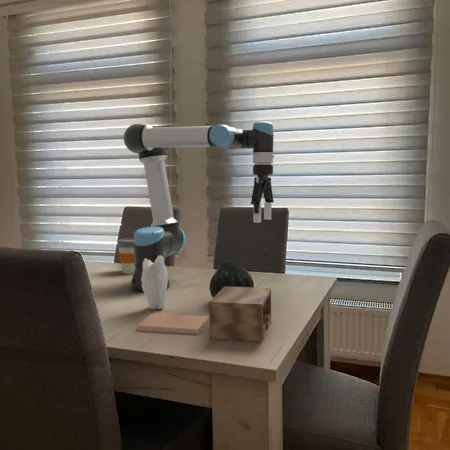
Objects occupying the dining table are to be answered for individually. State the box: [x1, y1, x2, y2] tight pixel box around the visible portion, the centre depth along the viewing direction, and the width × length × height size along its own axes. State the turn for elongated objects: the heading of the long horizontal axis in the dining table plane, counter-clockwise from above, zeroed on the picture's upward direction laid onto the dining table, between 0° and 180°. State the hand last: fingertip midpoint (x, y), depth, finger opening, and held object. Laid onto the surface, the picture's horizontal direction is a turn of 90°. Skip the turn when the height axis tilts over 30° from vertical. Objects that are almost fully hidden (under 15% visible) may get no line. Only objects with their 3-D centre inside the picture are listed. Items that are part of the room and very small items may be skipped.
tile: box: [136, 312, 210, 335], centre depth 135 cm, size 18×12×2 cm, turn 77°
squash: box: [209, 260, 255, 299], centre depth 159 cm, size 14×15×15 cm
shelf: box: [208, 286, 272, 343], centre depth 130 cm, size 14×18×10 cm
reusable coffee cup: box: [117, 237, 135, 275], centre depth 214 cm, size 13×13×15 cm
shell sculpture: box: [141, 256, 169, 310], centre depth 152 cm, size 8×8×18 cm
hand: (262, 220), depth 176 cm, fingers open, 13 cm apart
